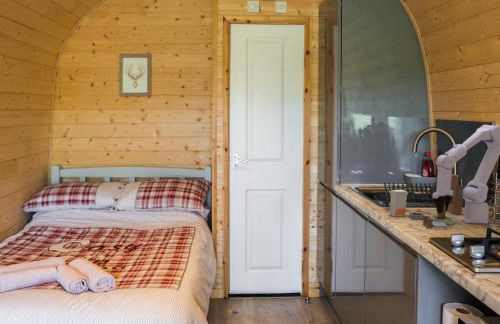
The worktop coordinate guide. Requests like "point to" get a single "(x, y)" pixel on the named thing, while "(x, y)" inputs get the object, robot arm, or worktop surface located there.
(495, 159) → the robot arm
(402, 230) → the worktop surface
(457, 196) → the wooden block
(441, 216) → the dowel
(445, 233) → the worktop surface
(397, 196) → the skincare box
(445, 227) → the grey square tile
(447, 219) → the tray
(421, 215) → the socket
